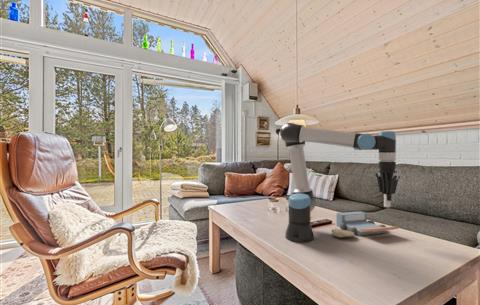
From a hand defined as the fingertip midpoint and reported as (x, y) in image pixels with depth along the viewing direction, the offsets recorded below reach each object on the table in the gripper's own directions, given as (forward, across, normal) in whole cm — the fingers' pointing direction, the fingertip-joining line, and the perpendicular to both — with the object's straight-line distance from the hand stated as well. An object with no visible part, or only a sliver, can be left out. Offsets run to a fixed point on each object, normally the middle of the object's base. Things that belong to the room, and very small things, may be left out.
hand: (387, 206), depth 120 cm
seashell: (+19, +12, +14) cm, 26 cm away
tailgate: (+15, +9, 0) cm, 17 cm away
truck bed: (+18, +17, 0) cm, 25 cm away
